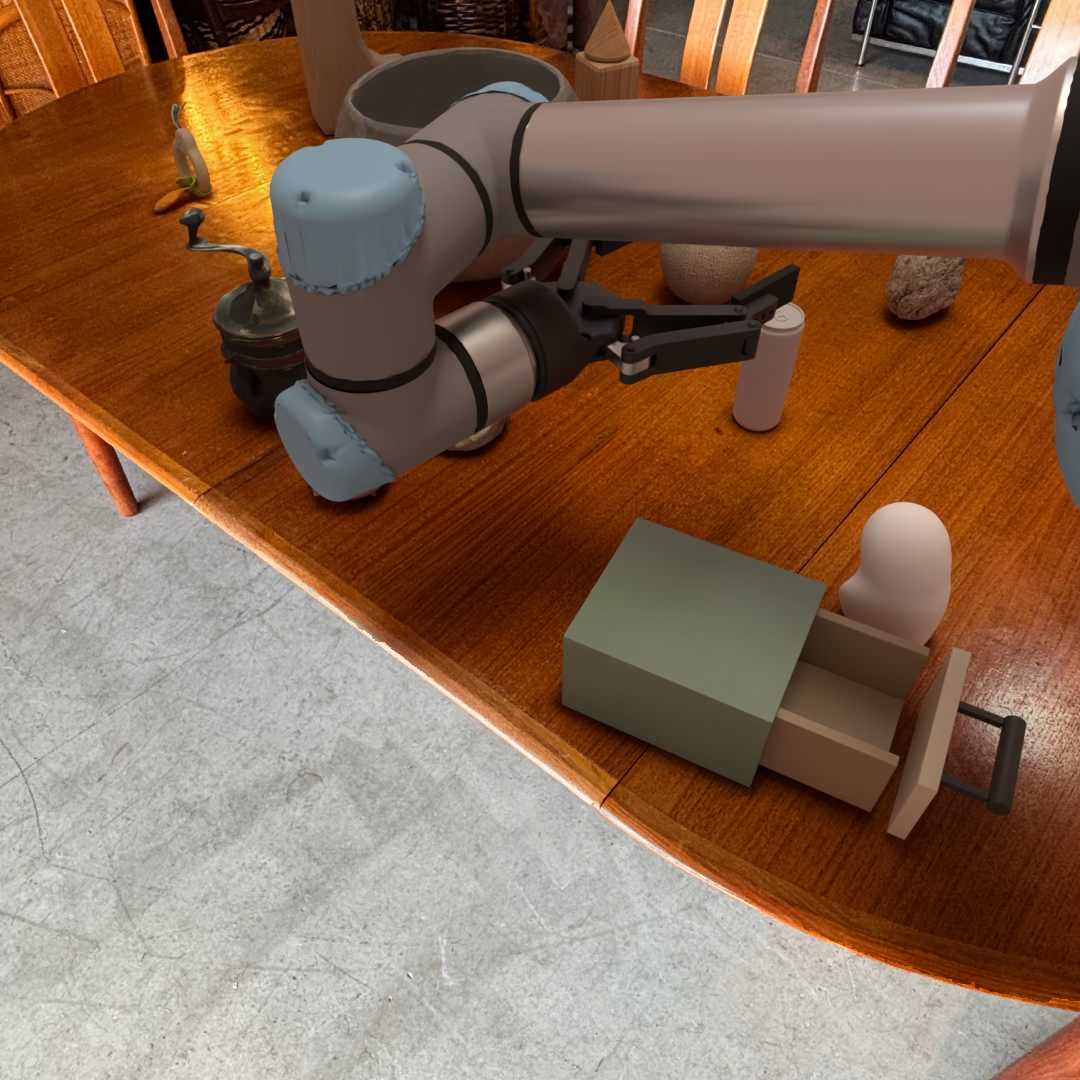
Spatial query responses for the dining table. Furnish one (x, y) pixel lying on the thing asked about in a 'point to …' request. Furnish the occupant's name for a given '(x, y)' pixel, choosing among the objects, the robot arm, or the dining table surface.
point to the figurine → (901, 573)
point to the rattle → (186, 165)
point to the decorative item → (607, 63)
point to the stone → (923, 285)
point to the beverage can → (769, 371)
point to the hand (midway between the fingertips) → (722, 244)
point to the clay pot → (427, 92)
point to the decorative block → (331, 55)
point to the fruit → (706, 271)
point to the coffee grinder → (255, 327)
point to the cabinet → (689, 647)
